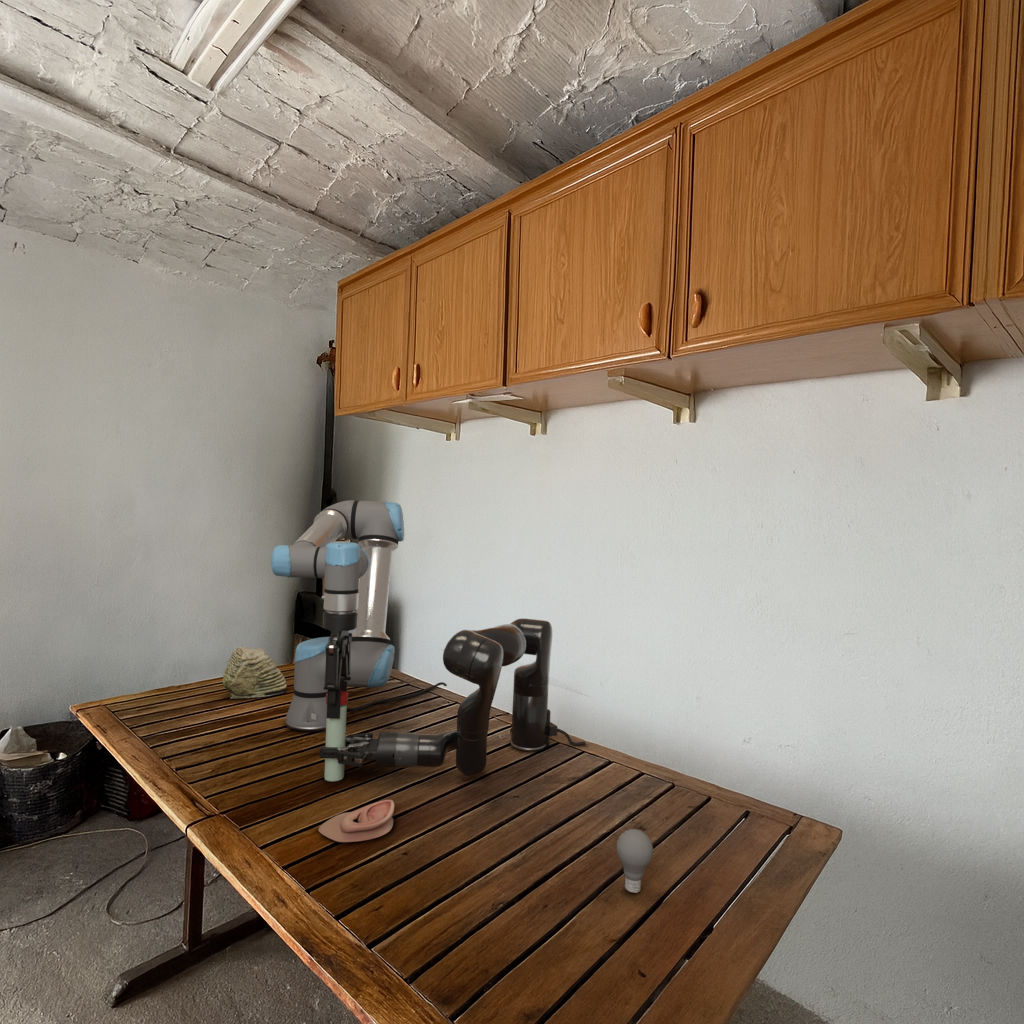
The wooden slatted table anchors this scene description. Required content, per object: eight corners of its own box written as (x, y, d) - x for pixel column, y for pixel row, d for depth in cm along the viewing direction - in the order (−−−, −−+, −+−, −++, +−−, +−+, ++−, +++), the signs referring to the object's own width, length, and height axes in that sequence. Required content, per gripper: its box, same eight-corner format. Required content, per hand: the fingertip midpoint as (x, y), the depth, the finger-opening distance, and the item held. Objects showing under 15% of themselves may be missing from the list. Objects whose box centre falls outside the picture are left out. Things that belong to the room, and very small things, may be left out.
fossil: (218, 695, 195) (220, 647, 195) (278, 685, 208) (279, 640, 207) (228, 703, 189) (230, 653, 188) (289, 692, 201) (290, 645, 201)
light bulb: (610, 879, 108) (613, 822, 108) (644, 879, 109) (647, 822, 109) (619, 902, 102) (622, 840, 102) (655, 901, 103) (658, 840, 103)
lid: (346, 698, 146) (346, 689, 146) (349, 705, 142) (349, 696, 142) (324, 700, 144) (325, 691, 144) (327, 706, 140) (327, 697, 140)
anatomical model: (310, 816, 117) (339, 789, 129) (309, 837, 117) (338, 808, 129) (377, 827, 115) (401, 798, 126) (376, 848, 115) (400, 818, 126)
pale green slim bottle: (345, 779, 142) (349, 698, 142) (326, 782, 140) (329, 700, 140) (341, 771, 146) (344, 693, 146) (322, 774, 144) (325, 694, 144)
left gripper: (335, 603, 151) (331, 700, 152) (311, 617, 134) (307, 727, 134) (366, 605, 151) (362, 701, 152) (346, 619, 134) (342, 728, 134)
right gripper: (403, 722, 151) (330, 720, 150) (395, 745, 137) (315, 743, 136) (402, 753, 151) (329, 751, 150) (394, 780, 137) (313, 778, 136)
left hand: (336, 713), depth 143 cm, fingers closed on lid, 5 cm apart
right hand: (323, 748), depth 143 cm, fingers closed on pale green slim bottle, 4 cm apart
